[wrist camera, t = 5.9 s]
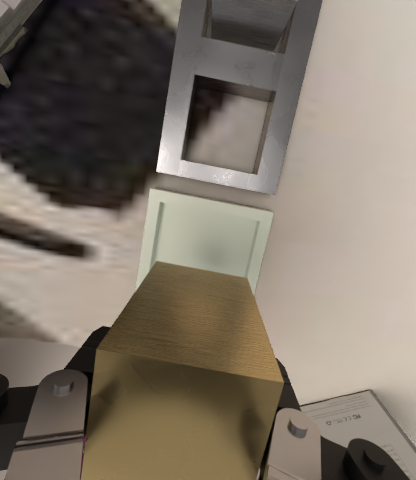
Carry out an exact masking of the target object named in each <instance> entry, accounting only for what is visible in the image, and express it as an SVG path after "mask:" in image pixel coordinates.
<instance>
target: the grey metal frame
mask: <svg viewBox="0 0 416 480" xmlns="http://www.w3.org/2000/svg"><path fill="white" fill-rule="evenodd" d="M321 4H322V0H298V1H297V3H296V5H295V7H294V10H293V12H292V14H291V16H290V18H289V20H288V22H287V24H286V27H285V31H284V36H283V40H282V45H281V49H280V53H277V52H272V51H267V50H262V49H258V48H253V47H248V46H244V45H239V44H234V43H229V42H225V41H220V40H215V39H210V38H206V37H205V36H206V30H207V24H208V18H209V12H210V6H211V0H182V3H181V9H180V16H179V23H178V30H177V36H176V43H175V50H174V56H173V63H172V70H171V76H170V83H169V90H168V96H167V103H166V110H165V117H164V123H163V130H162V137H161V143H160V150H159V157H158V163H157V170H156V172H161V173H166V174H171V175H176V176H181V177H186V178H191V179H196V180H201V181H206V182H211V183H216V184H221V185H226V186H231V187H236V188H241V189H246V190H251V191H257V192H262V193H267V194H272V195H275V194H276V190H277V186H278V181H279V177H280V173H281V169H282V165H283V161H284V157H285V153H286V149H287V144H288V140H289V136H290V132H291V128H292V124H293V120H294V116H295V111H296V107H297V103H298V99H299V95H300V91H301V87H302V83H303V79H304V74H305V70H306V66H307V62H308V58H309V54H310V50H311V46H312V41H313V37H314V33H315V29H316V25H317V21H318V17H319V13H320V9H321ZM197 87H200V88H205V89H209V90H214V91H219V92H224V93H229V94H234V95H238V96H243V97H248V98H253V99H258V100H263V101H267V102H269V103H268V108H267V112H266V117H265V121H264V126H263V130H262V135H261V139H260V144H259V148H258V153H257V157H256V162H255V166H254V171H253V174H249V173H244V172H239V171H234V170H229V169H224V168H219V167H214V166H209V165H204V164H199V163H194V162H189V161H184V160H185V154H186V148H187V142H188V136H189V130H190V125H191V119H192V113H193V107H194V101H195V95H196V89H197Z"/></svg>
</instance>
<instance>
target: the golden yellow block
mask: <svg viewBox="0 0 416 480" xmlns="http://www.w3.org/2000/svg"><path fill="white" fill-rule="evenodd" d="M283 385H284V381H283V378H282V375H281V372H280V369H279V366H278V364H277V361H276V358H275V355H274V352H273V349H272V347H271V344H270V341H269V338H268V335H267V332H266V329H265V327H264V324H263V321H262V318H261V315H260V312H259V310H258V307H257V304H256V301H255V298H254V295H253V292H252V290H251V287H250V284H249V281H248V278H245V277H240V276H234V275H229V274H224V273H218V272H213V271H208V270H203V269H197V268H192V267H187V266H181V265H176V264H171V263H166V262H160V261H156V262H155V264H154V265H153V267H152V268H151V270H150V271H149V273H148V274H147V276H146V277H145V278H144V280H143V281H142V283H141V284H140V286H139V287H138V289H137V290H136V292H135V293H134V295H133V296H132V298H131V299H130V300H129V302H128V303H127V305H126V306H125V308H124V309H123V311H122V312H121V314H120V315H119V317H118V318H117V320H116V321H115V323H114V324H113V325H112V327H111V328H110V330H109V331H108V333H107V334H106V336H105V337H104V339H103V340H102V342H101V343H100V345H99V346H98V348H97V349H96V357H95V366H94V374H93V382H92V391H91V399H90V407H89V416H88V424H87V432H86V441H85V449H84V457H83V466H82V474H81V480H256V478H257V475H258V471H259V468H260V464H261V461H262V457H263V454H264V451H265V447H266V444H267V440H268V437H269V433H270V430H271V427H272V423H273V420H274V416H275V413H276V409H277V406H278V402H279V399H280V396H281V392H282V389H283Z"/></svg>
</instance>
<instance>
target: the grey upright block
mask: <svg viewBox="0 0 416 480" xmlns="http://www.w3.org/2000/svg"><path fill="white" fill-rule="evenodd" d="M297 1H298V0H212V39H215V40H220V41H225V42H229V43H234V44H239V45H244V46H248V47H253V48H258V49H262V50H267V51H272V52H273V51H274V49H275V47H276V45H277V43H278V41H279V39H280V37H281V35H282V33H283V30H284V28H285V26H286V24H287V22H288V20H289V18H290V16H291V14H292V12H293V10H294V7H295V5H296V3H297Z"/></svg>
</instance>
